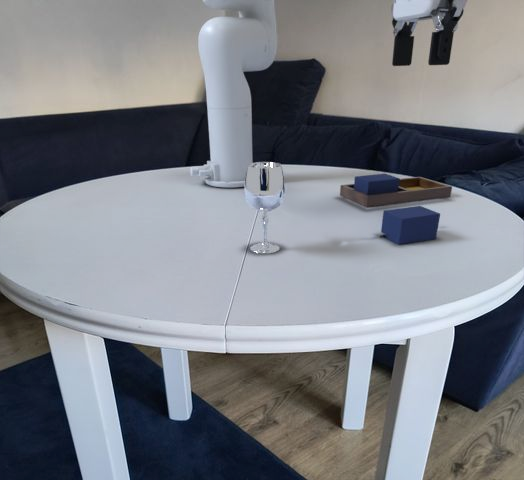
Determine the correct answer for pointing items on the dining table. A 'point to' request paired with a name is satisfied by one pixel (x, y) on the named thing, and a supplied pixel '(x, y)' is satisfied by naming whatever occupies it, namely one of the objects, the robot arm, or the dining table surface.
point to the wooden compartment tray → (399, 192)
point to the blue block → (376, 184)
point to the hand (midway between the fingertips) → (419, 65)
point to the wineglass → (264, 195)
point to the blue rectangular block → (410, 224)
